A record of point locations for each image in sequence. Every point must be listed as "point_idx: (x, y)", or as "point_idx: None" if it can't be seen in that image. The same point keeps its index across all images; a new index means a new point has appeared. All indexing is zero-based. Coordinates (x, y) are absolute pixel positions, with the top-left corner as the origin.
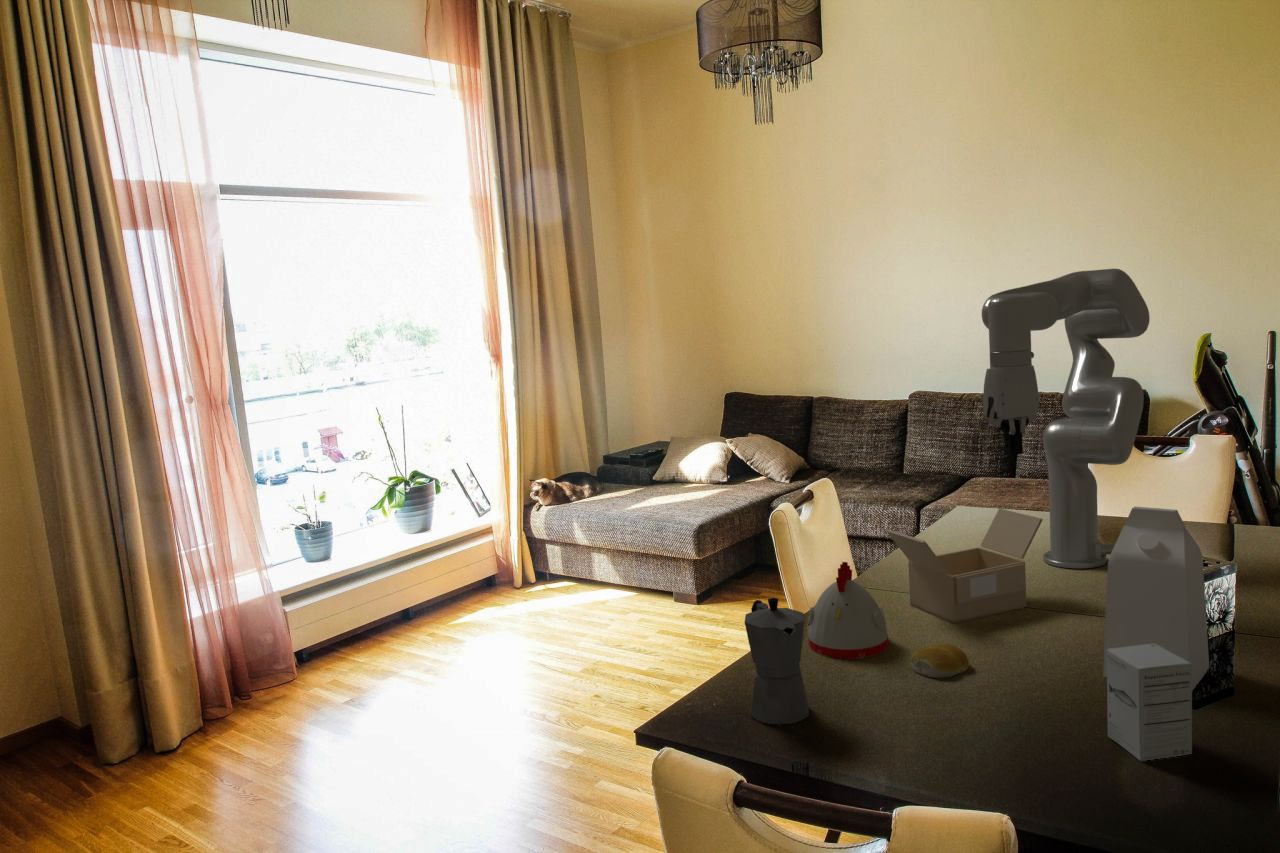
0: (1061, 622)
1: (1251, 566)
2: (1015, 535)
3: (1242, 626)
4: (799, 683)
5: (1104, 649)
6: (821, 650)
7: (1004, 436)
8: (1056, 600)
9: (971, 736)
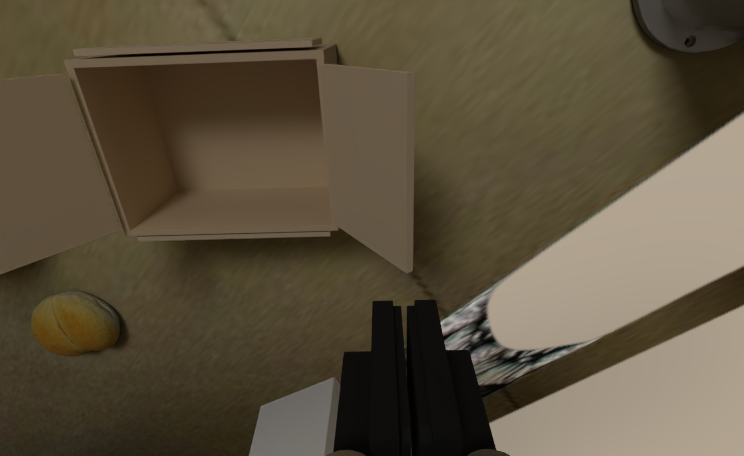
0: (344, 270)
1: None
2: (361, 191)
3: (531, 380)
4: None
5: (254, 436)
6: None
7: (334, 447)
8: (421, 185)
9: (59, 438)
